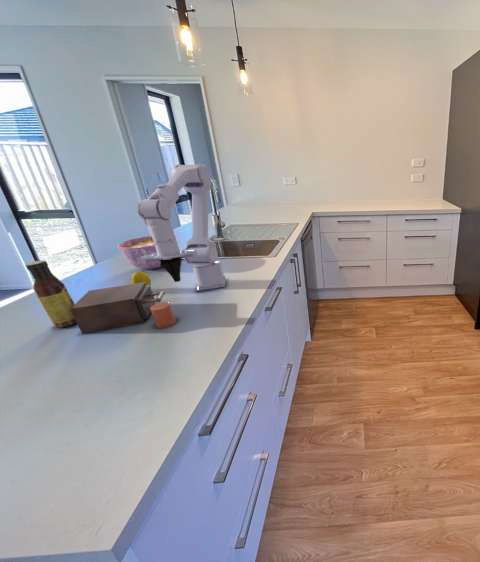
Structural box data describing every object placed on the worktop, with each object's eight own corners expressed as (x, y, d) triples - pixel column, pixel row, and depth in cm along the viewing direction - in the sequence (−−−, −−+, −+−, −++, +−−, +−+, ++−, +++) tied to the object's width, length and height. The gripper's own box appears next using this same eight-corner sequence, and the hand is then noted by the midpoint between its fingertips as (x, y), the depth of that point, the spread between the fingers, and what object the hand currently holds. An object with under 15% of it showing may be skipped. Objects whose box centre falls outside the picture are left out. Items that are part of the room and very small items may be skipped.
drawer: (170, 299, 103) (164, 282, 100) (162, 315, 93) (156, 297, 90) (106, 310, 97) (98, 292, 94) (92, 328, 87) (82, 309, 84)
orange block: (177, 317, 93) (171, 300, 91) (174, 325, 89) (168, 307, 87) (158, 321, 92) (152, 303, 89) (154, 329, 87) (147, 311, 85)
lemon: (144, 294, 108) (136, 274, 105) (132, 293, 109) (124, 273, 106) (157, 288, 113) (150, 268, 110) (145, 287, 114) (138, 268, 111)
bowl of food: (161, 274, 126) (152, 247, 122) (115, 274, 127) (104, 248, 122) (189, 257, 145) (182, 234, 140) (148, 258, 145) (140, 235, 140)
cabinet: (153, 304, 102) (145, 282, 98) (143, 322, 91) (133, 298, 88) (99, 313, 97) (89, 290, 93) (82, 334, 86) (69, 309, 83)
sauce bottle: (87, 319, 93) (58, 259, 85) (62, 330, 88) (29, 267, 80) (73, 316, 95) (44, 257, 87) (49, 326, 90) (14, 265, 82)
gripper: (132, 246, 85) (147, 289, 90) (190, 240, 90) (201, 281, 95) (139, 240, 91) (153, 280, 96) (193, 234, 96) (203, 273, 101)
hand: (177, 280), depth 96 cm, fingers closed
